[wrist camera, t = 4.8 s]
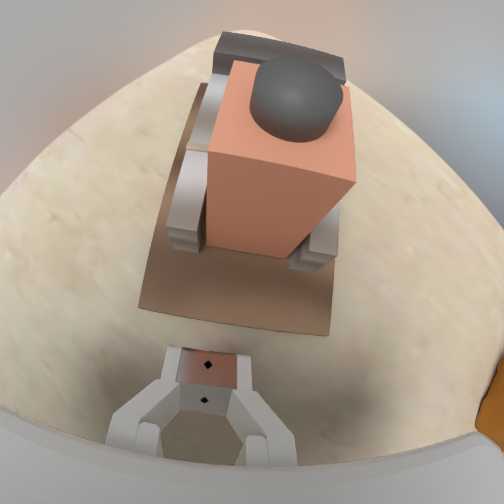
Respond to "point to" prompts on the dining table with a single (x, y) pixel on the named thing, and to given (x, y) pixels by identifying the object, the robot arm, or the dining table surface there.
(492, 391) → the coffee package
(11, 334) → the dining table surface
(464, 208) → the dining table surface
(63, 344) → the dining table surface
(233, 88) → the pink block with knob
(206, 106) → the press housing
